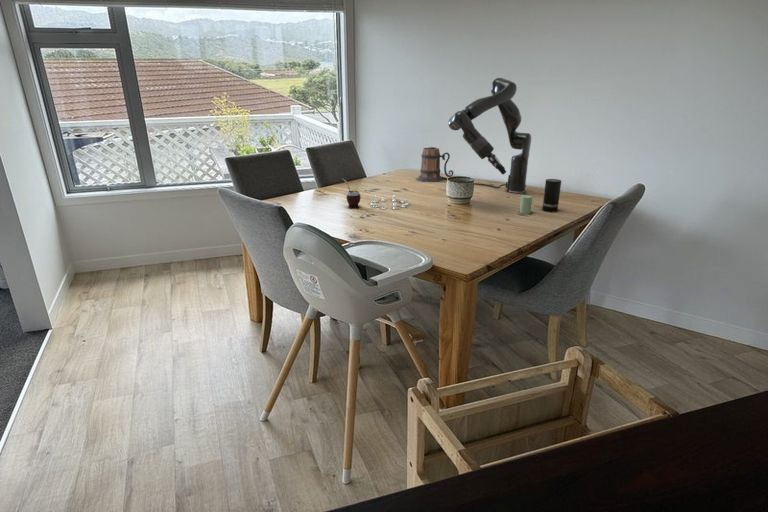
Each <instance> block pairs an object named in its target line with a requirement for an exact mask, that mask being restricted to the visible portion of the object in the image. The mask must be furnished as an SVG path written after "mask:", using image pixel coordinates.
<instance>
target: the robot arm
mask: <svg viewBox="0 0 768 512" xmlns="http://www.w3.org/2000/svg"><path fill="white" fill-rule="evenodd" d="M517 89H518V87H517V84H516V83H515V82H514V81H512V80H509V79H507V78H505V77H504V78H503V77H496V78H495V79H494V80H493V81H492V82H491V85H490V93H491V95H488V96H484V97H480V98H477V99H475V100H474V101H472V102H470V103H469V104H468V105H466V106H465V107H464V108H463V109H461V110H457V111H456V112H455V113H454V114H453V115H452V116H451V117H449V119H448V122H447V125H448V128H449V129H450V130H451V131H459V130H462V132H463V133H462V138H463V140H464V141H465V142H466V143H467V144H468V145H469V146H470V148H471V149H472V151H473V152H474V153H476V155H477V156H478V157H479V158H480V160H485V158H487V161H488V162H489V164H490V165H492V167H494V169H496V170H498V172H500V174H501V175H505V174H506V173H507V170H506V168H505V166H504V165H503V164H502V163H501V161H500V159H499V158H498V157H497V155H496V154H495V153H493V152H494V149H495V148H494V147H493V146H492V144H491V143H490V142H489V141H488V140H487V139H486V138H485V136H483V134H481V133H480V132H479V130H478V129H477V128H476V127H475V125H474V123H473V122H472V121H473V120H475V119H476V118H478V117H480V116H481V115H482V114H484V113H485V112H487V111H489V110H491V109H493V108H495V107H498V110H499V113H500V116H501V119H502V123H503V124H504V126H505V129H506V133H507V136H508V141H509V146H510V148H511V149H513V150H519V151H520V150H521V153H518V154H515V155H512V156H511V158H510V159H511V160H510V169H509V174H508V177H507V181H506V182H505V183H503V184H499V186H494V185H492V184H487V183H479V182H474V183H475V184H474V185H476V186H484V187H485V186H486V187H490V188H493V189H500V188H501V187H505V189H506V192H508V193H512V194H524V193H525V192H526V187H527V185H526V184H527V174H528V167H529V165H528V164H529V157H530V151H531V146H532V134H530V133H529V132H518V131H517V129H518V128H519V126H520V125H521V123H522V115H521V114H522V113H521V111H520V109H519V107H518V106H517V104H516V103H515V102H514V101H513V100H512V99H513V98H514V97H515V95H516V93H517ZM441 177H442V179H443V180H447V178H448V177H445V176H441Z"/></svg>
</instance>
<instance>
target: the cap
mask: <svg viewBox="0 0 768 512" xmlns="http://www.w3.org/2000/svg"><path fill="white" fill-rule="evenodd" d="M532 205H533V196H532V195H529V194H524V195H521V196H520V204H519V214H522V215H529V214H532Z"/></svg>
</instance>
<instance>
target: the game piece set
mask: <svg viewBox="0 0 768 512" xmlns="http://www.w3.org/2000/svg"><path fill="white" fill-rule="evenodd" d="M396 197H397V195H396V194H394V193H393V195H392V200H391V201H392V202H394V203H392V205H393V207H392V209H393V210H398V207H397V203H396V202H397V199H396ZM380 201H381V202H386V199H384V194H382V197H381V200H380ZM370 202H371V203H369V206H372V208H378V205H377V203H378V202H379V201H378V199H377V195H376V194H375V195H374V199H373V198H371V201H370ZM400 203H402V205H401V206H400V208H407V206H409V205H410V204H409V199H408V198H404V199H403V200H401V201H400ZM381 210H386V205H385V204H384V203H382V205H381Z"/></svg>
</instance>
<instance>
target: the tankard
mask: <svg viewBox="0 0 768 512" xmlns="http://www.w3.org/2000/svg"><path fill="white" fill-rule="evenodd" d="M446 155H447V159H446V158H445V157H446ZM450 157H451V155H450V153H449V152H444V153H442V155H441V154H440V148H438V147H434V146H429V147H423V148H422V152H421V161H420V162H421V163H420V170H419V171H420V173H419V175H418V177H417V178H416V180H417V181H418V182H425V183H438V182H439V183H440V182H442V181H444V179H443V178H442V177H443V176H441V159H442V160H443V161H445V162H444V165H443V171H444V175H445V176H446V178H451V177H453V175H454V170H453V169H451V170H448V172H447V164H448V162H449V161H450Z"/></svg>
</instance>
